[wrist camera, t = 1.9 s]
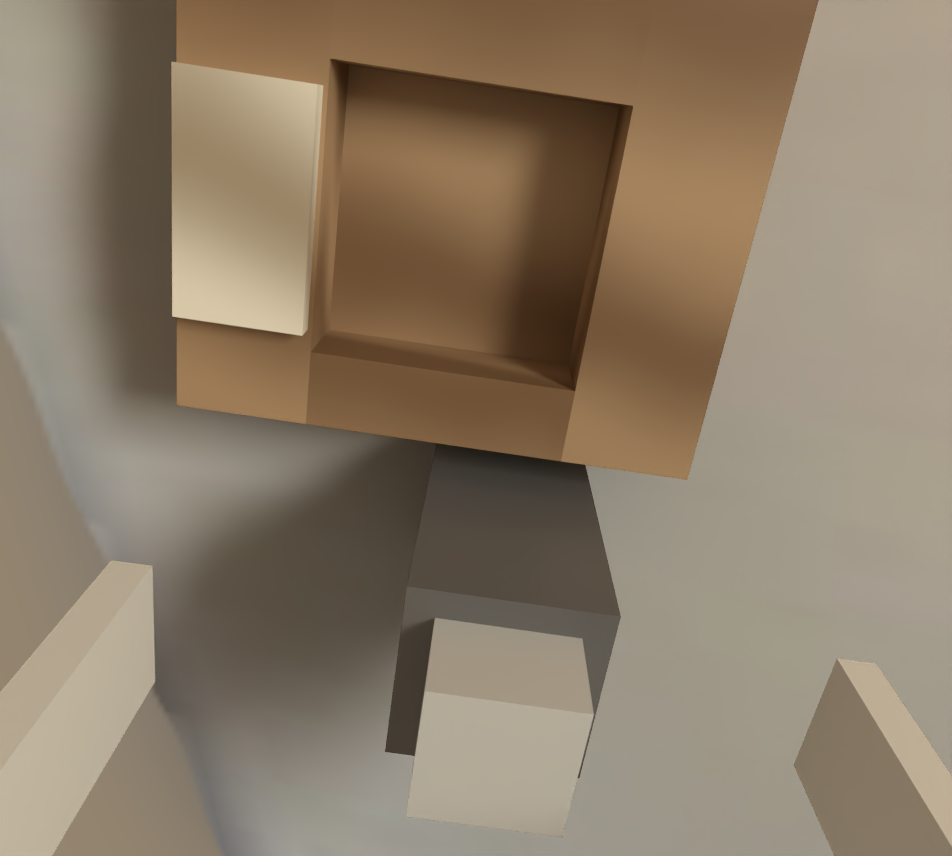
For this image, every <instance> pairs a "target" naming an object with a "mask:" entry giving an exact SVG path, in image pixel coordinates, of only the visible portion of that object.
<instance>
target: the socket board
mask: <svg viewBox="0 0 952 856" xmlns="http://www.w3.org/2000/svg"><path fill="white" fill-rule="evenodd" d="M817 4H818V0H176V62H171V97H172V317H177V405H179V406H186V407H192V408H199V409H206V410H213V411H220V412H227V413H233V414H240V415H247V416H254V417H261V418H268V419H275V420H281V421H288V422H295V423H302V424H309V425H316V426H322V427H329V428H336V429H343V430H350V431H357V432H364V433H370V434H377V435H384V436H391V437H398V438H405V439H411V440H418V441H425V442H432V443H439V444H446V445H453V446H459V447H466V448H473V449H480V450H487V451H494V452H501V453H507V454H514V455H521V456H528V457H535V458H542V459H548V460H555V461H562V462H569V463H576V464H583V465H590V466H596V467H603V468H610V469H617V470H624V471H631V472H637V473H644V474H651V475H658V476H665V477H672V478H679V479H685V480H687V479H688V475H689V471H690V468H691V464H692V460H693V457H694V453H695V449H696V446H697V442H698V438H699V435H700V431H701V428H702V424H703V420H704V417H705V413H706V409H707V406H708V402H709V398H710V395H711V391H712V387H713V384H714V380H715V376H716V373H717V369H718V365H719V362H720V358H721V354H722V351H723V347H724V344H725V340H726V336H727V333H728V329H729V325H730V322H731V318H732V314H733V311H734V307H735V303H736V300H737V296H738V292H739V289H740V285H741V281H742V278H743V274H744V270H745V267H746V263H747V260H748V256H749V252H750V249H751V245H752V241H753V238H754V234H755V230H756V227H757V223H758V219H759V216H760V212H761V208H762V205H763V201H764V197H765V194H766V190H767V187H768V183H769V179H770V176H771V172H772V168H773V165H774V161H775V157H776V154H777V150H778V146H779V143H780V139H781V135H782V132H783V128H784V124H785V121H786V117H787V113H788V110H789V106H790V103H791V99H792V95H793V92H794V88H795V84H796V81H797V77H798V73H799V70H800V66H801V62H802V59H803V55H804V51H805V48H806V44H807V40H808V37H809V33H810V29H811V26H812V22H813V19H814V15H815V11H816V8H817Z"/></svg>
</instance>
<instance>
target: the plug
mask: <svg viewBox="0 0 952 856" xmlns="http://www.w3.org/2000/svg"><path fill="white" fill-rule="evenodd" d="M620 617H621V616H620V612H619V608H618V603H617V599H616V595H615V590H614V586H613V582H612V578H611V573H610V569H609V565H608V560H607V556H606V552H605V548H604V543H603V539H602V535H601V530H600V526H599V522H598V518H597V513H596V509H595V505H594V500H593V496H592V492H591V488H590V483H589V479H588V475H587V470H586V466H585V465H583V464H576V463H569V462H562V461H555V460H548V459H542V458H535V457H528V456H521V455H514V454H507V453H501V452H494V451H487V450H480V449H473V448H466V447H459V446H453V445H446V444H439V443H437V444H436V448H435V453H434V458H433V463H432V468H431V472H430V477H429V482H428V487H427V491H426V496H425V501H424V506H423V511H422V515H421V520H420V525H419V530H418V535H417V539H416V544H415V549H414V554H413V558H412V563H411V568H410V573H409V578H408V582H407V588H406V595H405V603H404V611H403V618H402V626H401V634H400V641H399V649H398V657H397V664H396V672H395V680H394V688H393V695H392V703H391V711H390V718H389V726H388V734H387V741H386V749H385V752H391V753H398V754H405V755H413V756H414V763H413V770H412V777H411V784H410V792H409V799H408V806H407V813H406V816H407V817H414V818H421V819H429V820H436V821H444V822H451V823H458V824H466V825H473V826H480V827H488V828H495V829H503V830H510V831H517V832H525V833H532V834H539V835H547V836H554V837H563V833H564V829H565V825H566V821H567V817H568V814H569V810H570V806H571V802H572V798H573V794H574V790H575V786H576V782H577V778H579V777H580V773H581V769H582V765H583V761H584V757H585V753H586V750H587V746H588V742H589V738H590V734H591V730H592V726H593V722H594V718H595V714H596V711H597V707H598V703H599V699H600V695H601V691H602V687H603V683H604V679H605V676H606V672H607V668H608V664H609V660H610V656H611V652H612V648H613V644H614V641H615V637H616V633H617V629H618V625H619V621H620Z"/></svg>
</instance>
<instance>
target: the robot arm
mask: <svg viewBox="0 0 952 856" xmlns="http://www.w3.org/2000/svg"><path fill="white" fill-rule="evenodd" d="M154 683H155V651H154V609H153V566H149V565H142V564H135V563H127V562H120V561H112V560H111V561H110V563H109V564H108V565H107V566H106V567H105V568H104V570H103V571H102V572H101V573H100V574H99V576H98V577H97V578H96V579H95V580H94V582H93V583H92V584H91V585H90V586H89V587H88V589H87V590H86V591H85V592H84V593H83V595H82V596H81V597H80V598H79V599H78V601H77V602H76V603H75V604H74V605H73V606H72V608H71V609H70V610H69V611H68V612H67V614H66V615H65V616H64V617H63V618H62V619H61V621H60V622H59V623H58V624H57V625H56V627H55V628H54V629H53V630H52V631H51V633H50V634H49V635H48V636H47V637H46V639H45V640H44V641H43V642H42V643H41V644H40V646H39V647H38V648H37V649H36V650H35V651H34V653H33V654H32V655H31V656H30V657H29V659H28V660H27V661H26V662H25V663H24V665H23V666H22V667H21V668H20V669H19V670H18V672H17V673H16V674H15V675H14V676H13V678H12V679H11V680H10V681H9V682H8V683H7V685H6V686H5V687H4V688H3V689H2V691H1V692H0V856H52V855H53V853H54V852H55V850H56V848H57V846H58V845H59V843H60V842H61V840H62V838H63V837H64V835H65V833H66V832H67V830H68V828H69V826H70V825H71V823H72V821H73V820H74V818H75V816H76V815H77V813H78V811H79V809H80V807H81V806H82V804H83V803H84V801H85V799H86V798H87V796H88V794H89V793H90V791H91V789H92V788H93V786H94V784H95V782H96V781H97V779H98V777H99V776H100V774H101V772H102V770H103V769H104V767H105V766H106V764H107V762H108V761H109V759H110V757H111V755H112V754H113V752H114V750H115V749H116V747H117V745H118V744H119V742H120V740H121V739H122V737H123V735H124V733H125V732H126V730H127V728H128V726H129V725H130V723H131V721H132V720H133V718H134V717H135V715H136V713H137V711H138V709H139V708H140V706H141V705H142V703H143V701H144V700H145V698H146V696H147V695H148V693H149V691H150V690H151V688H152V686H153V684H154ZM794 766H795V769H796V771H797V773H798V775H799V778H800V780H801V782H802V784H803V787H804V789H805V791H806V793H807V796H808V798H809V800H810V802H811V804H812V807H813V809H814V811H815V813H816V816H817V818H818V820H819V822H820V825H821V827H822V829H823V831H824V834H825V836H826V838H827V840H828V843H829V845H830V847H831V849H832V852H833V854H834V856H952V776H951V775H950V773H949V772H948V770H947V769H946V767H945V766H944V764H943V763H942V761H941V760H940V758H939V757H938V755H937V754H936V752H935V751H934V749H933V748H932V746H931V745H930V743H929V742H928V740H927V739H926V738H925V736H924V735H923V733H922V732H921V730H920V729H919V727H918V726H917V724H916V723H915V721H914V720H913V718H912V717H911V715H910V714H909V712H908V711H907V709H906V708H905V706H904V705H903V703H902V702H901V700H900V699H899V697H898V696H897V694H896V693H895V691H894V690H893V688H892V687H891V686H890V684H889V683H888V681H887V680H886V678H885V677H884V675H883V674H882V672H881V671H880V669H879V668H878V666H877V665H876V664H874V663H867V662H859V661H852V660H844V659H837V660H836V662H835V665H834V667H833V670H832V672H831V675H830V677H829V680H828V682H827V685H826V687H825V689H824V692H823V694H822V697H821V699H820V702H819V704H818V707H817V709H816V712H815V714H814V717H813V719H812V721H811V724H810V726H809V729H808V731H807V734H806V736H805V739H804V741H803V744H802V746H801V749H800V751H799V753H798V756H797V758H796V761H795V763H794Z"/></svg>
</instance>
